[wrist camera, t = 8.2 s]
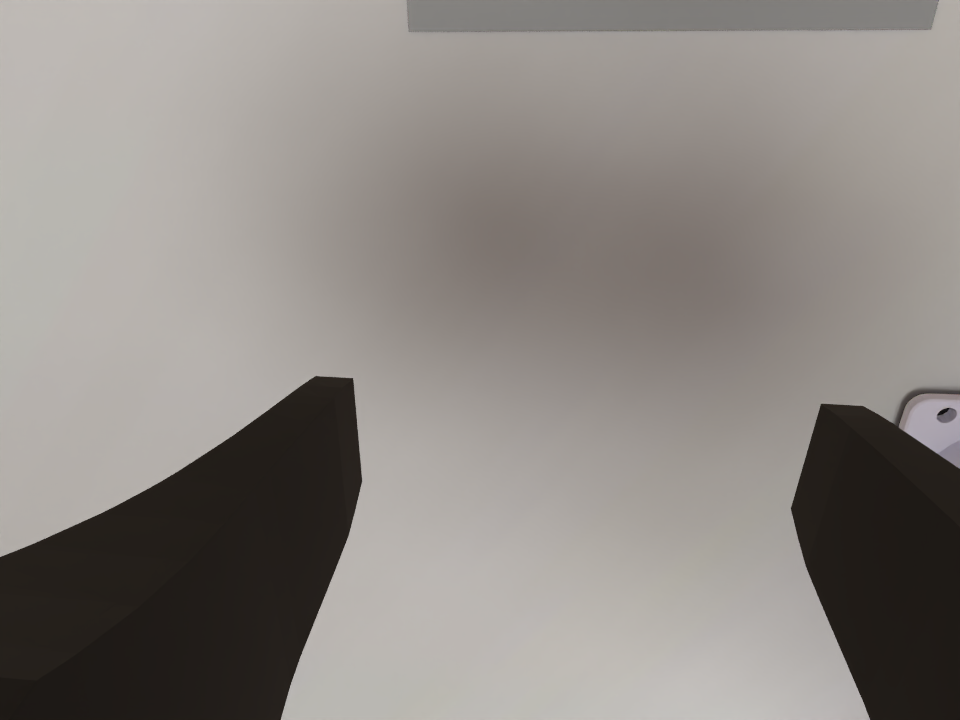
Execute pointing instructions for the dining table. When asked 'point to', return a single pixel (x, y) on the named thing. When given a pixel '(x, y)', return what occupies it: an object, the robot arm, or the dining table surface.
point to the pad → (668, 15)
